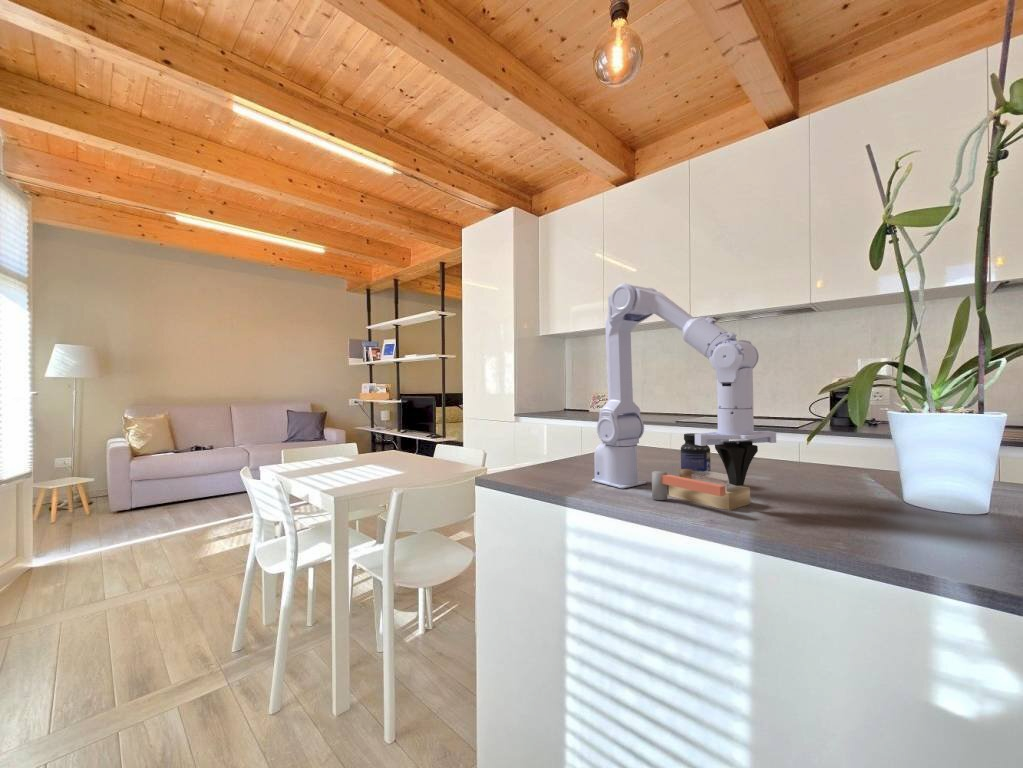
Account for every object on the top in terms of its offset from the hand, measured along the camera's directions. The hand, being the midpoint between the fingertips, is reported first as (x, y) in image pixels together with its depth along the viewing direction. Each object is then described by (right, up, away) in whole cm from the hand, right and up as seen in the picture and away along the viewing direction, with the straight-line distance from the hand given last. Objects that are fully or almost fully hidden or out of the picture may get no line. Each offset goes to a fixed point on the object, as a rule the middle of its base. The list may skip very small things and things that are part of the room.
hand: (736, 484), depth 78 cm
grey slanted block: (-1, -2, +5) cm, 6 cm away
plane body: (-2, -5, +7) cm, 8 cm away
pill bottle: (+1, -5, +20) cm, 21 cm away
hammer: (-8, -4, +3) cm, 9 cm away
